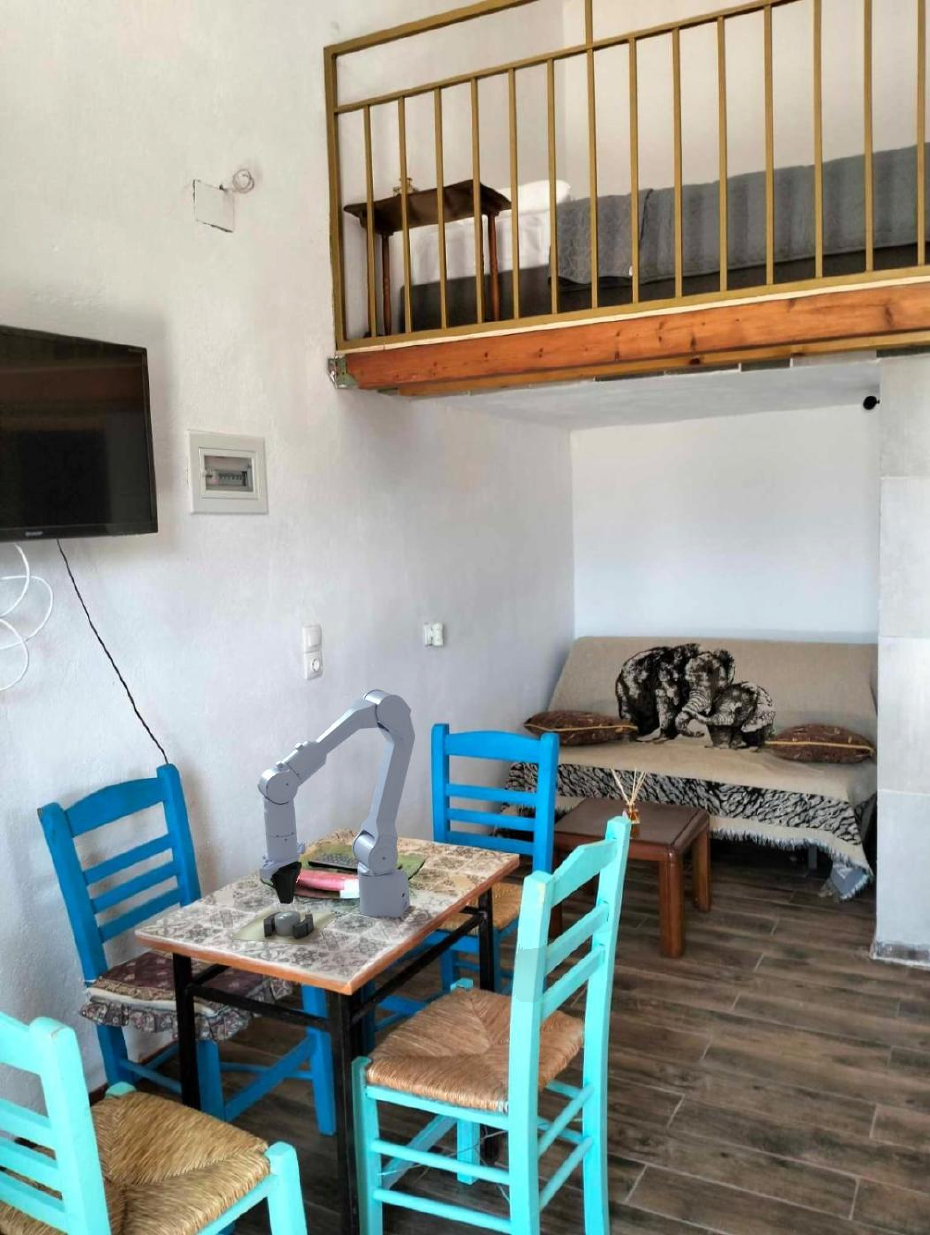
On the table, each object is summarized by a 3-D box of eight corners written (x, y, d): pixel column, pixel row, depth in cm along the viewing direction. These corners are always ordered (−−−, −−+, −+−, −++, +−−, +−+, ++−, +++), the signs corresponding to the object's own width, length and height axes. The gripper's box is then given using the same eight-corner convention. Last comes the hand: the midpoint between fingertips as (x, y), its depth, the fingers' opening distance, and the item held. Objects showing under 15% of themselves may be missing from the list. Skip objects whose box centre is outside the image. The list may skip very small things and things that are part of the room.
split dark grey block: (318, 926, 190) (317, 914, 190) (303, 940, 184) (302, 927, 184) (275, 922, 193) (274, 910, 193) (259, 936, 187) (258, 924, 187)
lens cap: (305, 926, 190) (304, 910, 190) (294, 937, 186) (293, 920, 185) (282, 924, 192) (281, 908, 191) (271, 935, 187) (269, 918, 187)
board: (338, 918, 195) (338, 914, 195) (305, 948, 182) (305, 944, 182) (266, 913, 200) (265, 909, 200) (229, 942, 187) (228, 938, 187)
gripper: (280, 820, 195) (285, 887, 196) (242, 844, 181) (248, 916, 182) (313, 821, 193) (318, 889, 194) (276, 845, 179) (282, 918, 180)
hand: (286, 902), depth 188 cm, fingers closed
